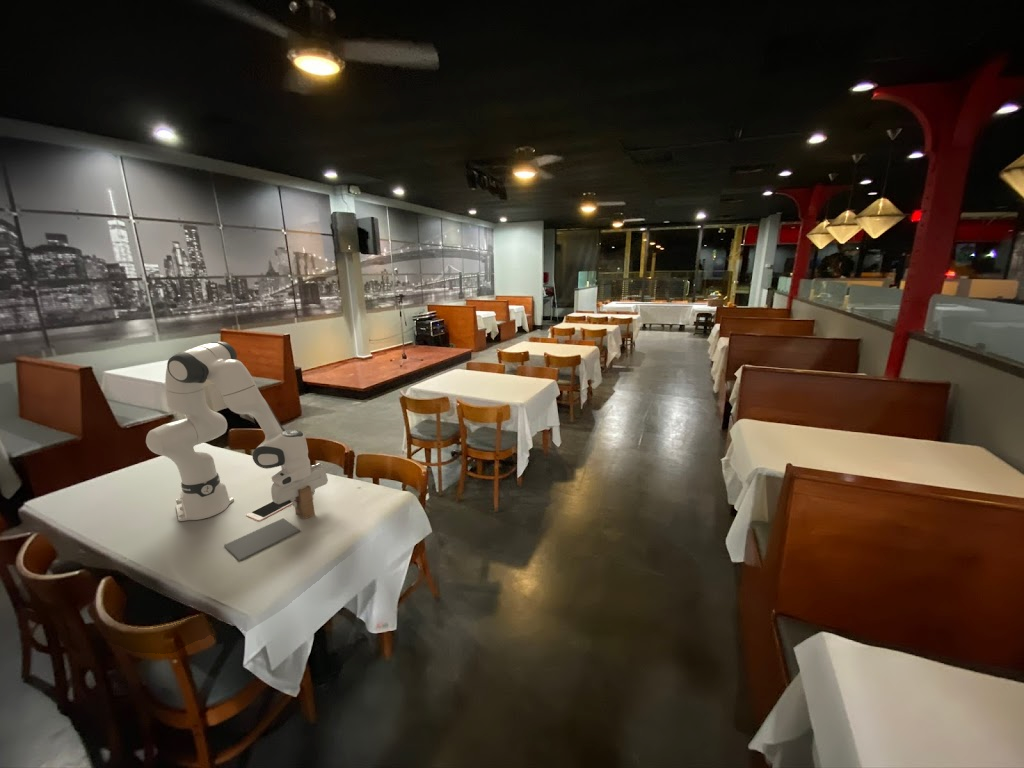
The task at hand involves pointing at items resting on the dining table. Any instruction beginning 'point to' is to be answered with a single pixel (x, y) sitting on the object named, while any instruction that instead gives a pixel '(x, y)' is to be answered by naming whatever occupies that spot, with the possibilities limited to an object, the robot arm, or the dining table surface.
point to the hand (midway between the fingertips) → (303, 503)
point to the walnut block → (305, 502)
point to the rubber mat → (261, 539)
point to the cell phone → (268, 510)
